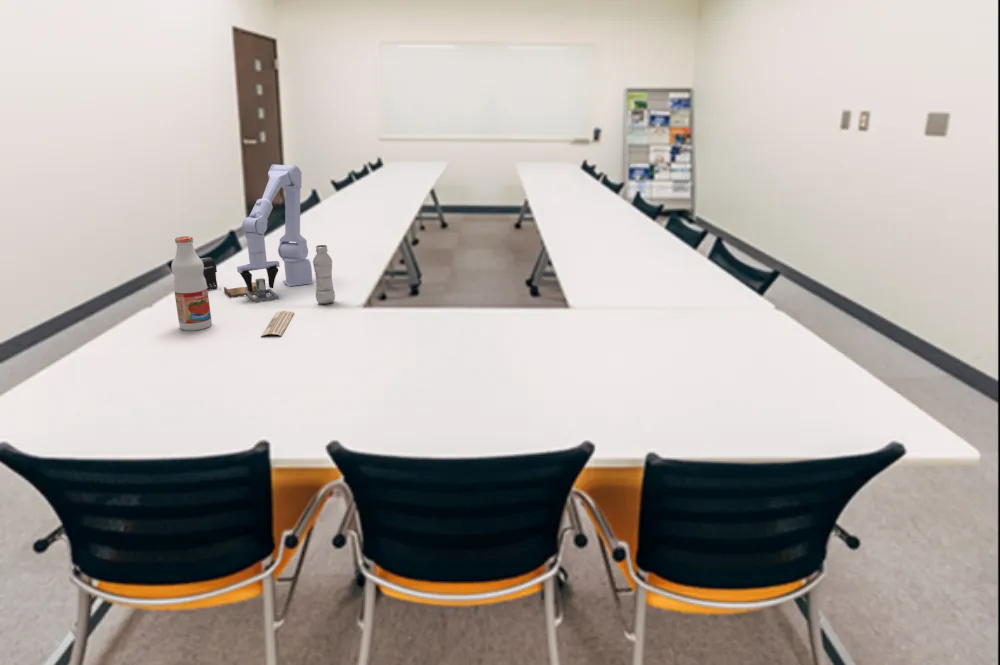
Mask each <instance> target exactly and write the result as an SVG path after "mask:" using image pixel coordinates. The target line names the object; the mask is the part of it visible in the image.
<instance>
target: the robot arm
mask: <svg viewBox="0 0 1000 665" xmlns="http://www.w3.org/2000/svg"><path fill="white" fill-rule="evenodd" d="M267 175H268V176H267V177H268V182H267V184H266V187H265V189H264V192H263V195H262V198H258V199H256V202H255V204H254V206H253V208H252V210H251V212H250V214H249V216H246V217H245V218H244V219H243V220H242V224H241V229H242V232H243V233H244V238H246V242H247V252H248V260H249V264H243V265H240V266H236V270H237V273H239V274H240V276H241V277H242V279H243V280H244V283H245V285H246V287H247V288H248V291H249V292H253V289H252V283H253V281H252V279H253V274H252V273H251V271H252V272H253V271H258V270H264V269H266V274H267V279H268V280H267V282H268V287H269V289H274V286H275V280H276V277H277V275H278V272H279V268H280V266H281V265H280V261H278V260H272V261H271V260H270V261H267V252H266V244H265V242H266V241H265V233H266V231H267V229H268V218H269V216H270V215H271V213H272V211H273V208H274V207H273V204H272V202H273V201H274V199H275V197H276V196H277V194H278V193H279V191H280V189H281V188H282V189H283V190H284V193H285V194H284V195H285V199H284V200H285V203H284V208H285V210H284V212H285V213H284V214H285V217H284V220H285V221H284V222H285V223H284V224H285V225H284V229H285V230H284V231H285V232H284V234H283V236H281V237H280V238H279V244H278V247H277V252H278V256H279V258H280V259H281V261H283V263H284V274H285V276H284V277H285V280H282V283H284V284H285V285H286V286H287V287H296V286H302V285H303V286H304V285H311V284H313V283H314V281H313V273H312V272H313V270H312V264H311V260H310V259H309V258H307V257H308V254H309V247H308V243H307V239H306V238H304V236H303V235H301V189H302V170H301V169H300V168H299V166H298V165H296V164H291V165H288V164H276V163H275V164H274V163H273V164H272V165H271V166H270V168H269V170H268V172H267Z"/></svg>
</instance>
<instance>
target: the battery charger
mask: <svg viewBox="0 0 1000 665" xmlns="http://www.w3.org/2000/svg"><path fill="white" fill-rule="evenodd" d="M200 259H201V260H202V262H203V264H204V271H203V275H204V277H205V279H206V283H207V290H208V291H210V289H211V290H215V289H218V282H217V273H218V271H217V269H218V268H217V263H216V260H215V259H213V258H212V257H204V258H200Z"/></svg>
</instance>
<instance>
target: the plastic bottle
mask: <svg viewBox="0 0 1000 665" xmlns="http://www.w3.org/2000/svg"><path fill="white" fill-rule="evenodd" d="M315 253H316V254H315V256H314V257H313V260H312V265H313V269H314V274H315V281H316V283H315V286H316V287H315V288H316V289H315V299H316V302H317V303H318V304H321V305H323V304H324V305H327V304H332V303H334V302H335V299H336V294H335V289H334V284H333V260H332V257H331V256H330V255H329V253H328V245H326V244H320V245H316V246H315Z"/></svg>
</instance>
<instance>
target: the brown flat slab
mask: <svg viewBox="0 0 1000 665" xmlns="http://www.w3.org/2000/svg"><path fill="white" fill-rule="evenodd" d="M223 292H224V293H225V295H226V294H227V295H228V296H229V297H233V298H238V296H241V297H245V296H244V295H246V294H245V292H249V291H248V290H247V289H245V287H244V286H241V287H240V286H239V287H233V288H227V287H226V286H225V287H223ZM227 295H226V296H227ZM228 296H227V297H228ZM229 297H228V298H229Z"/></svg>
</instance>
